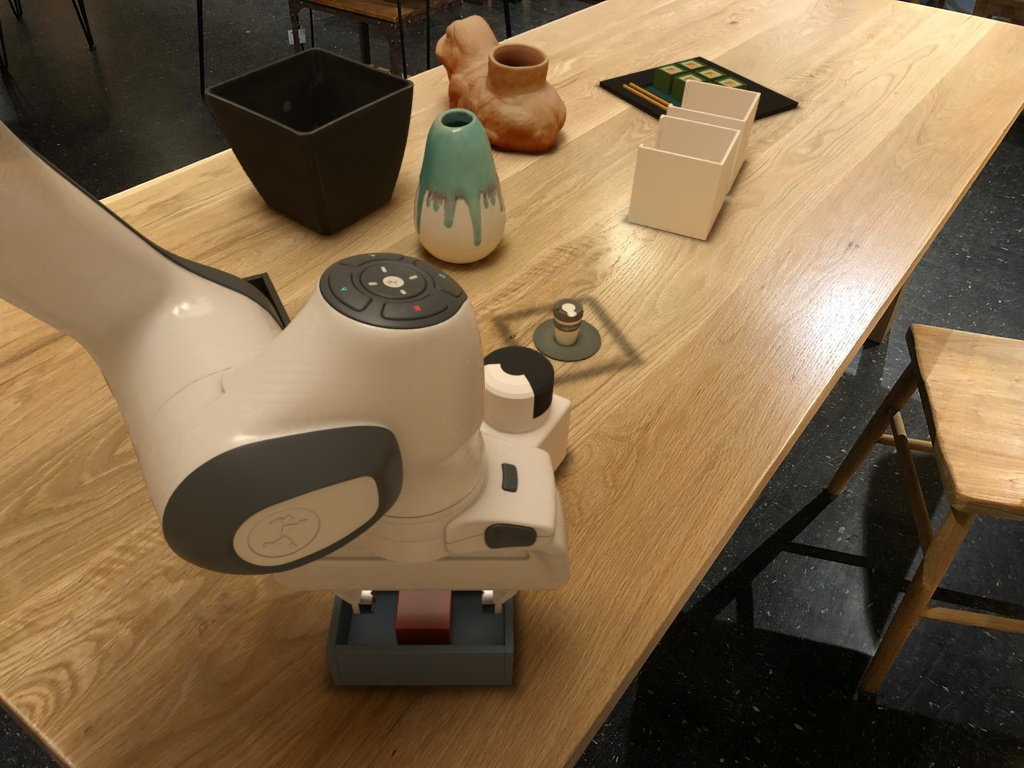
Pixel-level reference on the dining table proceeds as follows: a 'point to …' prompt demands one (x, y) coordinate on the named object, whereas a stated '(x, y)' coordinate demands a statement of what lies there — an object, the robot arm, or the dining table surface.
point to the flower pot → (317, 134)
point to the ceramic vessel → (501, 87)
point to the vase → (458, 191)
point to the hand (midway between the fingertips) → (428, 605)
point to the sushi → (668, 85)
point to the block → (424, 618)
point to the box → (421, 646)
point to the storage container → (693, 159)
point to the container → (525, 401)
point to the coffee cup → (567, 333)
